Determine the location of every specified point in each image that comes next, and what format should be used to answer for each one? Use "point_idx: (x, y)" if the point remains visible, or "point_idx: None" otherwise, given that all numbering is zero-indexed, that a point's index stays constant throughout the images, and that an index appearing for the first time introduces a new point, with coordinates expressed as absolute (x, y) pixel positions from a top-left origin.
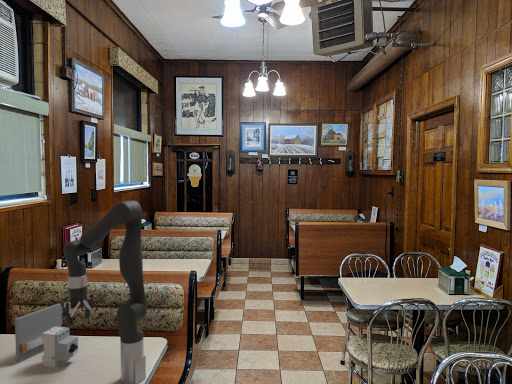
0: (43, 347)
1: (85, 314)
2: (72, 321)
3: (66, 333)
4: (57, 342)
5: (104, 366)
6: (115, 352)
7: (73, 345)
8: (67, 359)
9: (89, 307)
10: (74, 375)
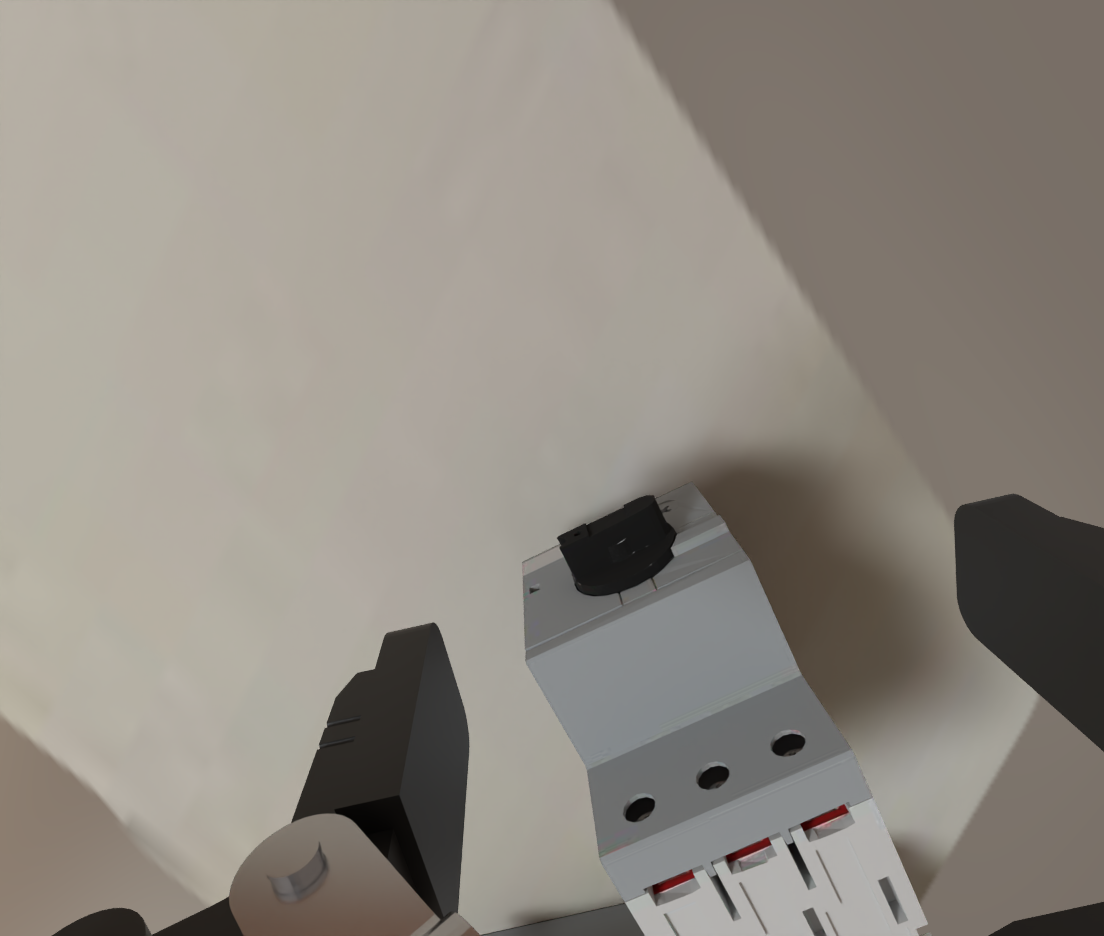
0: (641, 930)
1: (459, 787)
2: (1061, 534)
3: (652, 787)
4: (804, 682)
5: (398, 188)
6: (162, 390)
7: (614, 570)
8: (684, 486)
9: (299, 911)
10: (693, 271)
